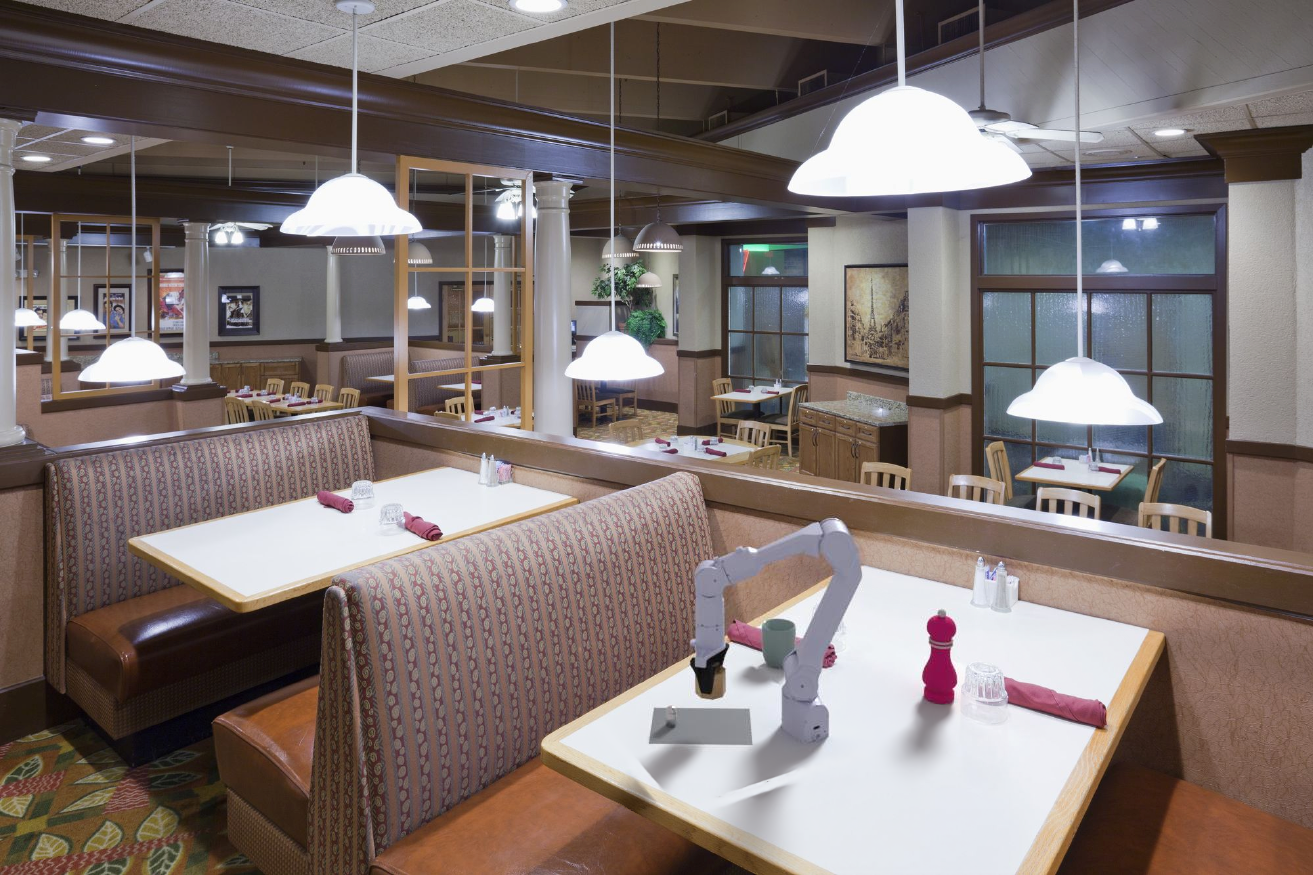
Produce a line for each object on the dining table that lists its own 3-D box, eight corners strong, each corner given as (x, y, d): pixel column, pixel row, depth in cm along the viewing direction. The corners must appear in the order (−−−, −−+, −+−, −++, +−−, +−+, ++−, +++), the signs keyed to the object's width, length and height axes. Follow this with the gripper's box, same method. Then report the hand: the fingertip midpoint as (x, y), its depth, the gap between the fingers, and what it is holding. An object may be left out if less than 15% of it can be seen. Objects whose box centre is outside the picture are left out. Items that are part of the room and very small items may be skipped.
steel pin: (678, 726, 169) (678, 707, 168) (669, 728, 168) (668, 709, 167) (673, 721, 171) (673, 702, 170) (664, 723, 170) (663, 705, 169)
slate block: (749, 715, 176) (749, 708, 175) (752, 751, 162) (752, 744, 162) (654, 714, 177) (654, 707, 177) (649, 750, 163) (649, 743, 163)
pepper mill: (959, 706, 177) (962, 616, 173) (923, 704, 178) (926, 615, 175) (954, 690, 184) (957, 603, 180) (919, 688, 185) (922, 602, 182)
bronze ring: (730, 695, 166) (729, 671, 166) (705, 701, 164) (704, 677, 163) (715, 683, 172) (715, 660, 171) (691, 689, 169) (691, 666, 168)
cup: (785, 674, 193) (785, 634, 192) (756, 666, 198) (755, 626, 196) (801, 662, 199) (801, 622, 198) (772, 654, 204) (772, 615, 202)
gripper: (700, 606, 173) (701, 667, 176) (679, 633, 160) (680, 699, 162) (733, 609, 171) (734, 672, 173) (715, 637, 157) (715, 705, 160)
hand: (710, 685), depth 168 cm, fingers closed on bronze ring, 6 cm apart
